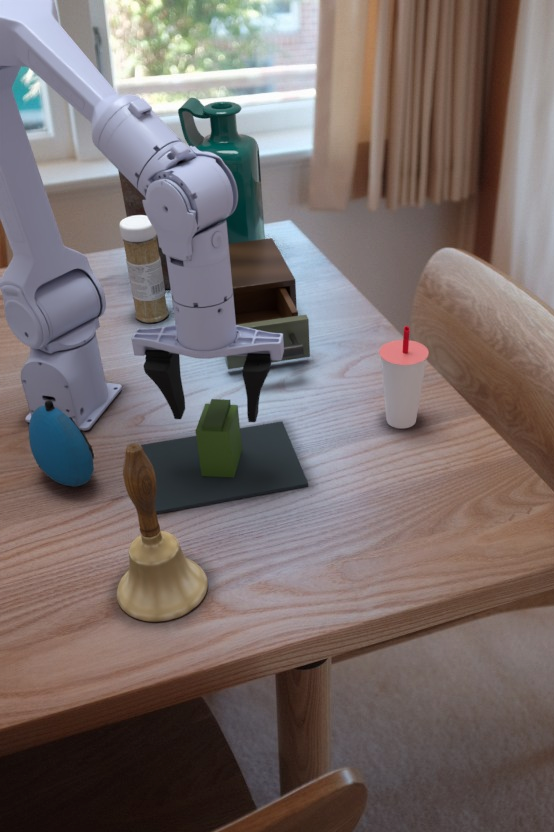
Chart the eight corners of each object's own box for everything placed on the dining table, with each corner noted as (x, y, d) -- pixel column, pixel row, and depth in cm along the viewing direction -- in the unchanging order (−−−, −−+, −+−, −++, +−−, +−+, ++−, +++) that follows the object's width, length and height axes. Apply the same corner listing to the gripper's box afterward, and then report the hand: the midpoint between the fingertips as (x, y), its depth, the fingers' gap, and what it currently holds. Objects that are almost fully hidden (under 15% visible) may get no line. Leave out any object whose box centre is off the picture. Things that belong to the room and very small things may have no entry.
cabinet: (297, 329, 121) (295, 279, 116) (211, 341, 118) (205, 291, 114) (275, 285, 131) (272, 237, 126) (195, 296, 128) (189, 248, 124)
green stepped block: (234, 477, 95) (228, 426, 91) (201, 476, 96) (194, 425, 91) (242, 450, 99) (237, 399, 95) (210, 448, 99) (204, 398, 95)
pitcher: (267, 245, 141) (258, 95, 127) (256, 268, 135) (244, 113, 121) (206, 242, 142) (190, 93, 128) (192, 265, 136) (173, 111, 122)
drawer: (318, 373, 110) (317, 335, 107) (234, 387, 108) (230, 347, 105) (287, 311, 123) (285, 275, 119) (210, 322, 120) (206, 285, 117)
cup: (427, 432, 102) (433, 337, 94) (379, 434, 102) (381, 339, 94) (421, 406, 106) (426, 313, 98) (376, 408, 106) (377, 315, 98)
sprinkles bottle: (158, 305, 126) (143, 210, 118) (175, 317, 124) (161, 221, 115) (129, 315, 124) (112, 219, 115) (145, 327, 121) (129, 230, 113)
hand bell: (100, 611, 81) (63, 469, 71) (142, 551, 87) (114, 412, 77) (185, 631, 79) (159, 488, 69) (222, 568, 85) (203, 428, 75)
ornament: (112, 483, 95) (95, 403, 89) (78, 506, 93) (58, 425, 86) (61, 455, 99) (41, 377, 93) (27, 476, 96) (3, 396, 90)
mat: (308, 486, 95) (308, 483, 94) (155, 514, 91) (154, 511, 91) (282, 424, 104) (282, 421, 103) (141, 447, 100) (141, 444, 100)
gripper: (285, 277, 87) (291, 396, 96) (137, 272, 88) (156, 391, 97) (274, 311, 82) (282, 435, 90) (117, 306, 83) (140, 429, 91)
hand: (216, 415), depth 93 cm, fingers open, 7 cm apart
